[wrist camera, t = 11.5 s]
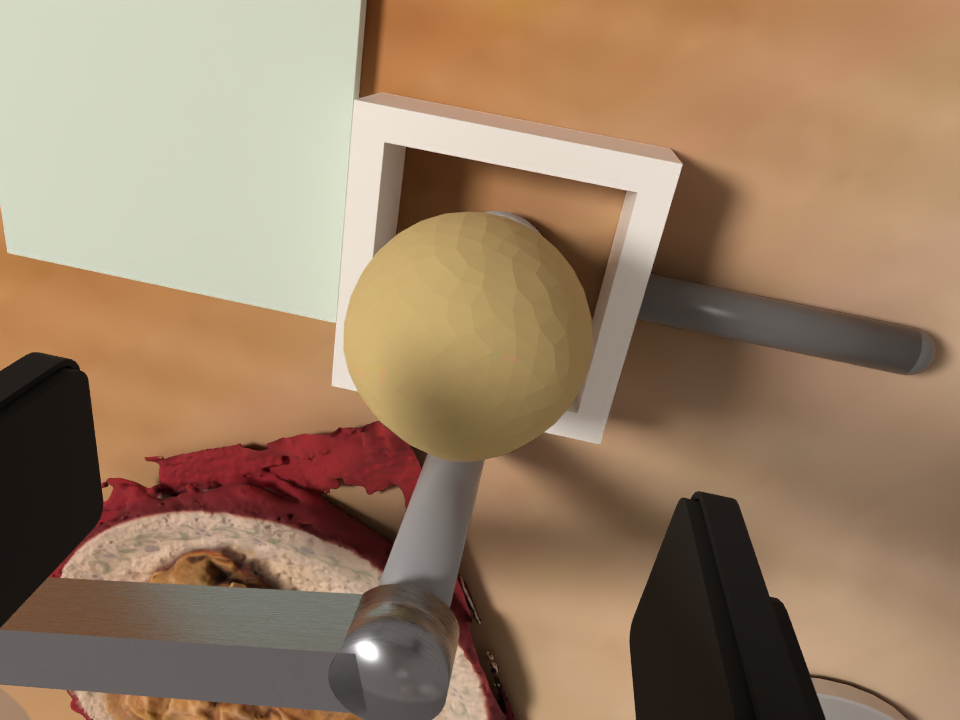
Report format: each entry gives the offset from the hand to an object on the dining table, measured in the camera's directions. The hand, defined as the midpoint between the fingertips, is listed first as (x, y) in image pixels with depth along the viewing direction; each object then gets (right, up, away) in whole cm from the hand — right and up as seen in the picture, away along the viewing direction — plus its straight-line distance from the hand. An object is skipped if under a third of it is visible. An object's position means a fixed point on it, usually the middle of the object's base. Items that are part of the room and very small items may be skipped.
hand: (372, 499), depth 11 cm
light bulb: (+2, +6, +14) cm, 15 cm away
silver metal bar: (-7, -5, +8) cm, 11 cm away
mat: (-9, +11, +13) cm, 19 cm away
